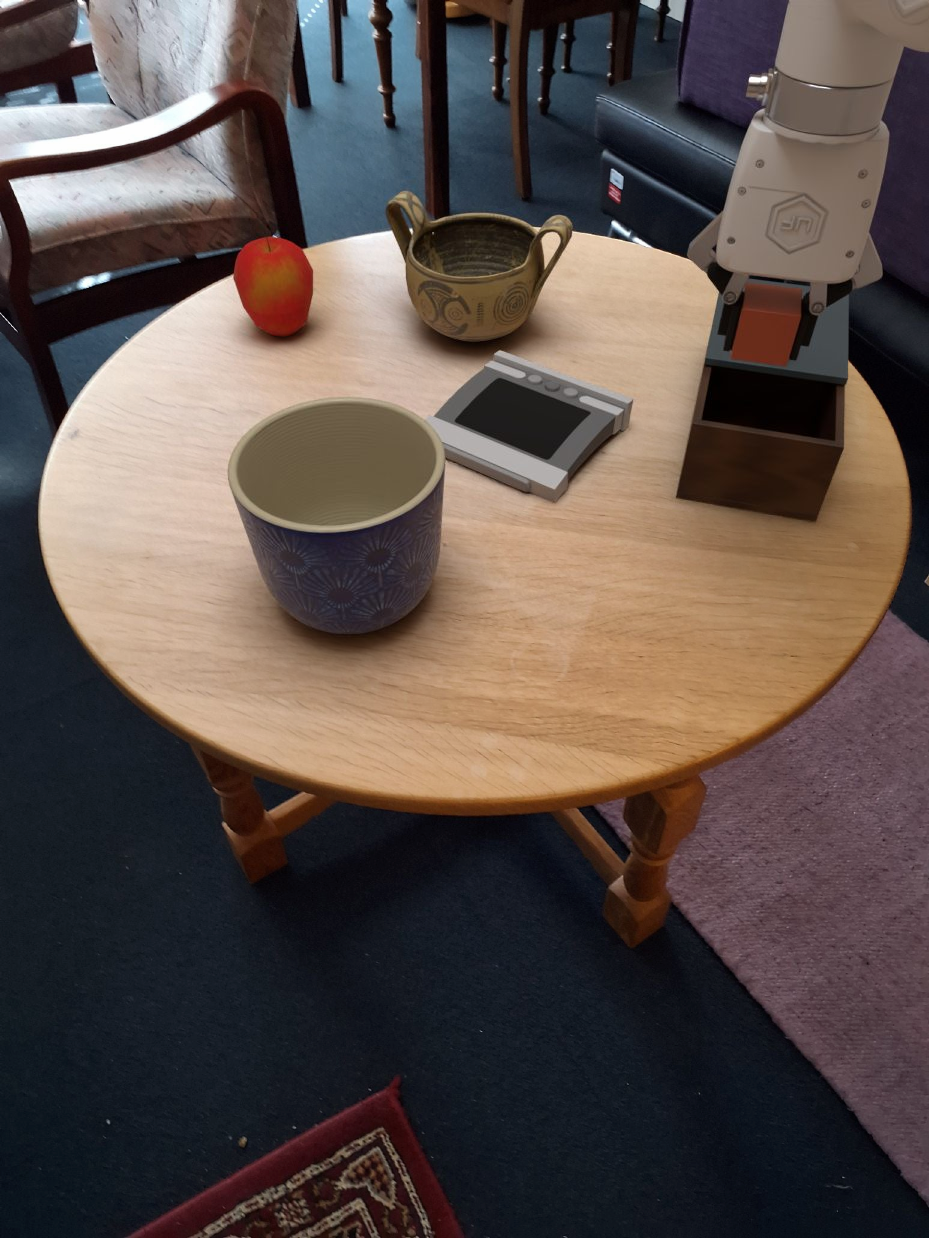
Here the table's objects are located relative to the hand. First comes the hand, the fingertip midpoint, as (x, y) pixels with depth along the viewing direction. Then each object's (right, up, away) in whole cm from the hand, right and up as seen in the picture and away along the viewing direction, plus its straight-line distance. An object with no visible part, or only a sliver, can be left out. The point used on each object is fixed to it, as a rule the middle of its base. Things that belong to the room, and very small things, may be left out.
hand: (760, 345), depth 73 cm
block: (0, 0, 0) cm, 0 cm away
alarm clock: (-18, -3, +24) cm, 30 cm away
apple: (-47, +14, +39) cm, 63 cm away
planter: (-34, -20, +9) cm, 40 cm away
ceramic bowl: (-23, +14, +39) cm, 47 cm away
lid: (+9, +8, +21) cm, 24 cm away
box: (+6, -5, +21) cm, 23 cm away
